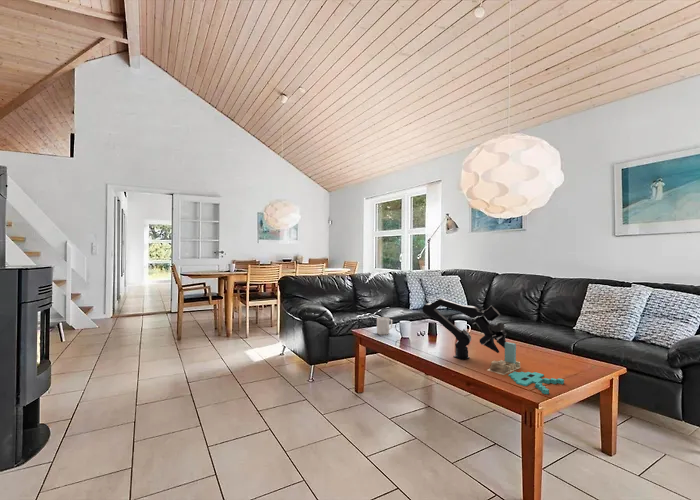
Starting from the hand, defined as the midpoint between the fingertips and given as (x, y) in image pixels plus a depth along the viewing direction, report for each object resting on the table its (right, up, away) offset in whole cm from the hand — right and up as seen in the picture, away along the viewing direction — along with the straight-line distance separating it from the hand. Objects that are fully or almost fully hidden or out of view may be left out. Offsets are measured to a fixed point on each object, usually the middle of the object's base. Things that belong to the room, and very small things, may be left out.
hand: (503, 351), depth 195 cm
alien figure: (+5, -9, -22) cm, 24 cm away
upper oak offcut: (-6, -5, -10) cm, 13 cm away
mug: (-56, -7, +70) cm, 90 cm away
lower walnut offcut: (-6, -7, -10) cm, 14 cm away
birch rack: (-2, -8, -6) cm, 11 cm away
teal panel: (+2, -7, -3) cm, 8 cm away
